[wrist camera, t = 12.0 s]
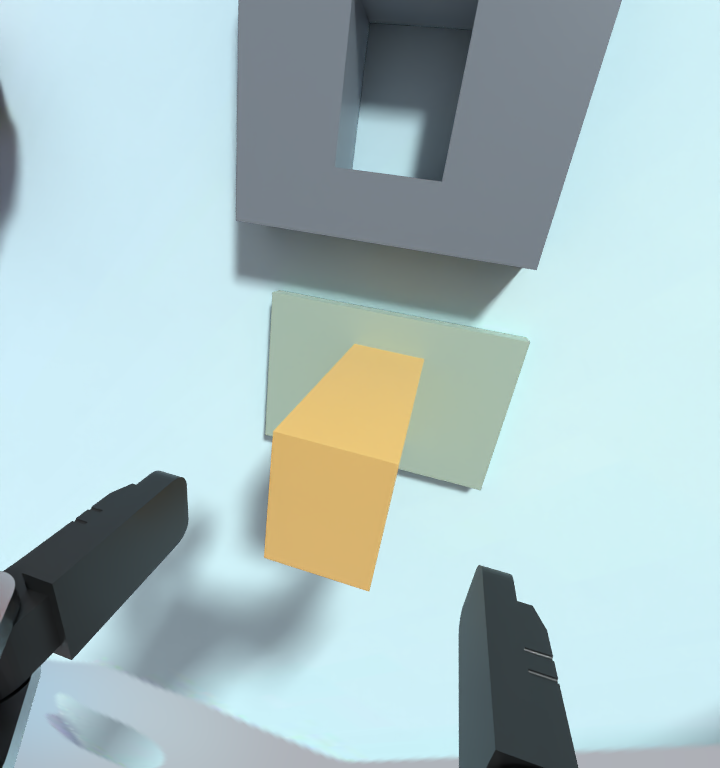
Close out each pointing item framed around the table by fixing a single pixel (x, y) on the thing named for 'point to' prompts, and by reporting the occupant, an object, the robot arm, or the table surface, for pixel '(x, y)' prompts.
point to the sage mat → (436, 385)
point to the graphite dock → (469, 134)
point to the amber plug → (340, 466)
